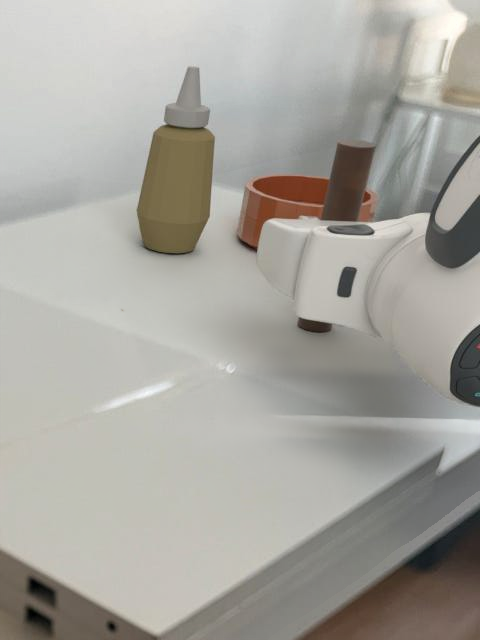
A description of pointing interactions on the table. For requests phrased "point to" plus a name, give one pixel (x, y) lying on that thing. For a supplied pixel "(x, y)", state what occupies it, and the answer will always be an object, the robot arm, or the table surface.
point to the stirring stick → (345, 194)
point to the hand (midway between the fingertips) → (359, 227)
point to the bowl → (288, 202)
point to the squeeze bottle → (178, 174)
